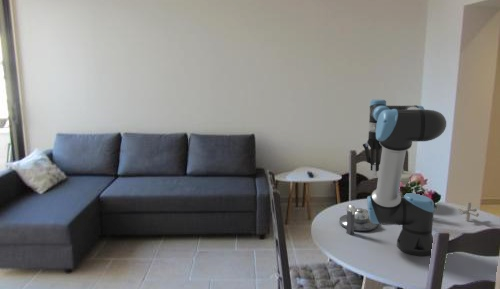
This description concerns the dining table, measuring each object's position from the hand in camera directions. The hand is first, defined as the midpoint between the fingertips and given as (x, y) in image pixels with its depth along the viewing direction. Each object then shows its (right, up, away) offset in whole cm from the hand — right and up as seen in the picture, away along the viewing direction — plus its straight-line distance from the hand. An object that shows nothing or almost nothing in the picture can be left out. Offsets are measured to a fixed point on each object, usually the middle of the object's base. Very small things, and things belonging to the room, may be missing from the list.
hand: (374, 176), depth 194 cm
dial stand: (-16, -25, -14) cm, 33 cm away
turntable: (-9, -23, -4) cm, 25 cm away
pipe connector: (+46, -22, -2) cm, 51 cm away
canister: (+21, -17, +23) cm, 36 cm away
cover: (-9, -21, -5) cm, 23 cm away
